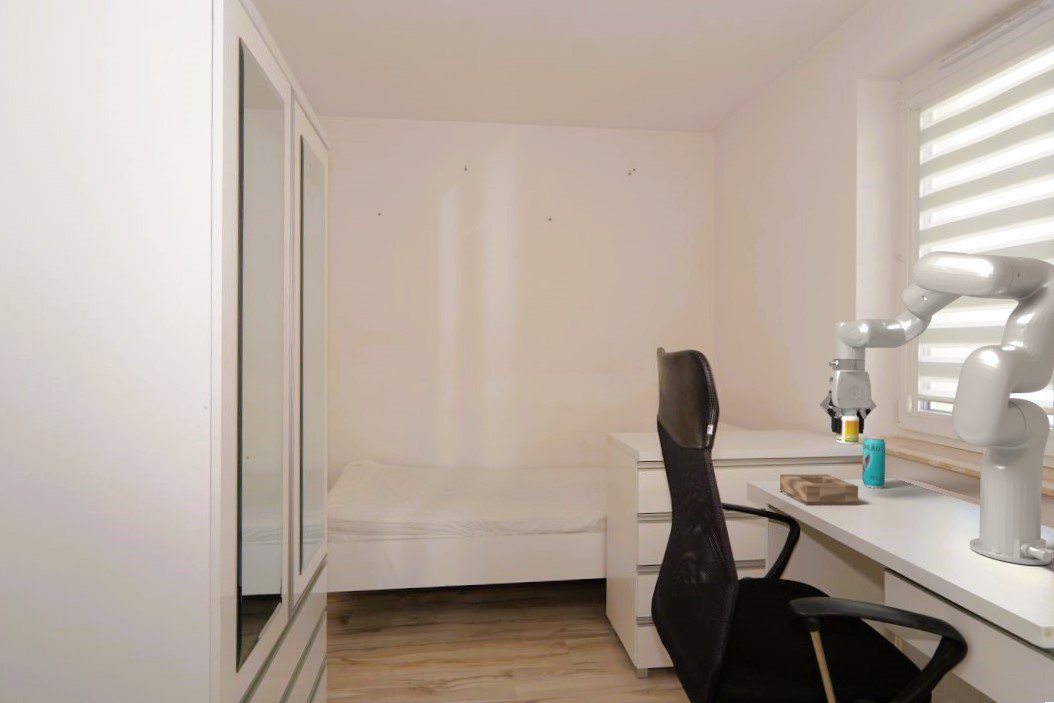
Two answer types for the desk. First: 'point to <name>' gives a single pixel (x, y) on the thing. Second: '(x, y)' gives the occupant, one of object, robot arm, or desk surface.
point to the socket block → (819, 489)
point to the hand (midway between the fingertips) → (847, 432)
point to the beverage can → (873, 461)
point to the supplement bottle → (848, 427)
